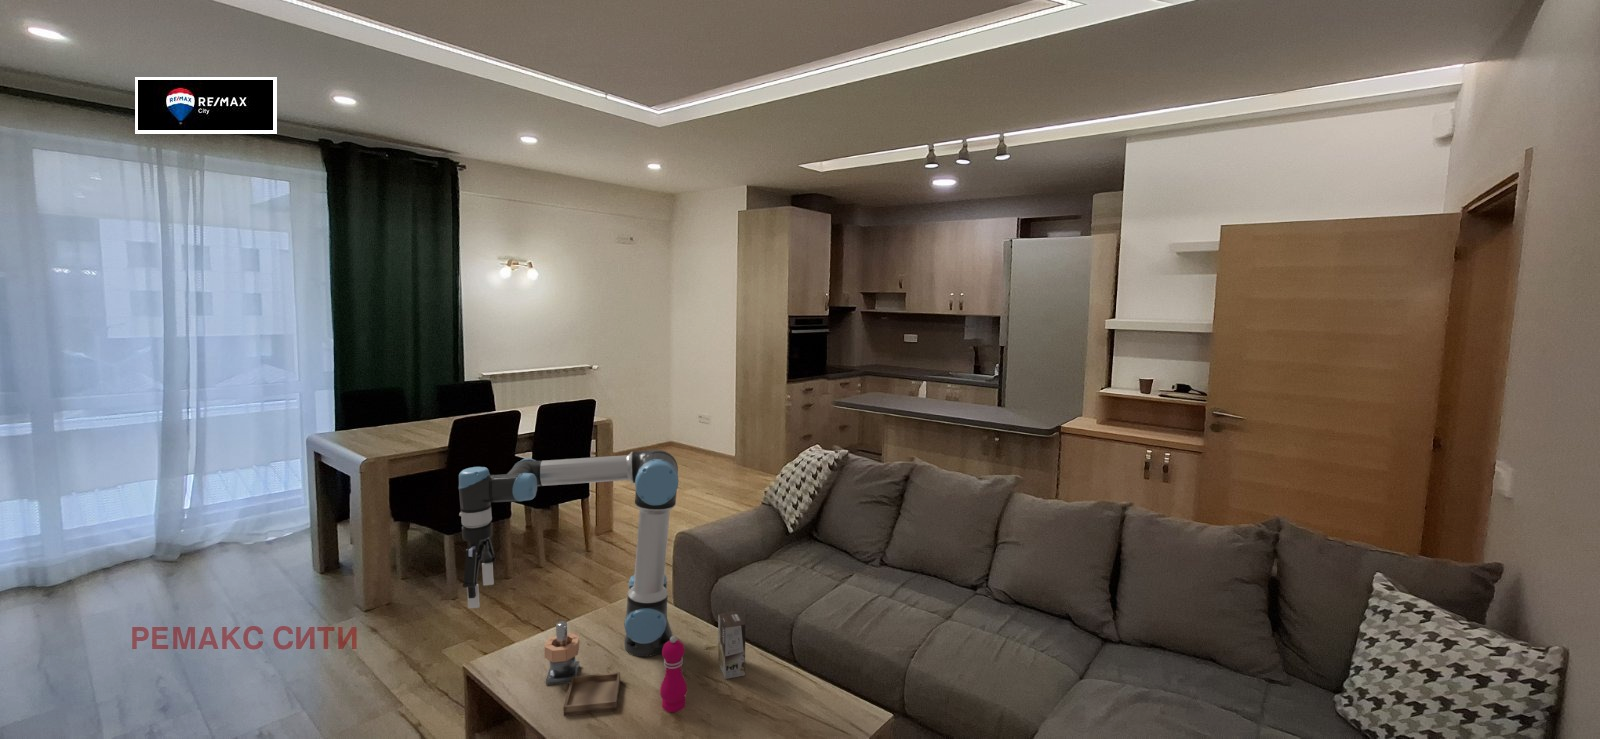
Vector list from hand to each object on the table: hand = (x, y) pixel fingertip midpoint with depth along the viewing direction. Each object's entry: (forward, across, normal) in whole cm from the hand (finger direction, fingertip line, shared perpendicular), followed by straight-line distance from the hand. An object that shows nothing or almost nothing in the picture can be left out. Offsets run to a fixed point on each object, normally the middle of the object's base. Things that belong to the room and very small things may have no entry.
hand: (481, 595), depth 178 cm
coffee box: (+28, +5, +70) cm, 75 cm away
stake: (+27, 0, +21) cm, 34 cm away
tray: (+27, +12, +31) cm, 42 cm away
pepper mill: (+27, +19, +53) cm, 62 cm away
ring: (+20, 0, +21) cm, 29 cm away
